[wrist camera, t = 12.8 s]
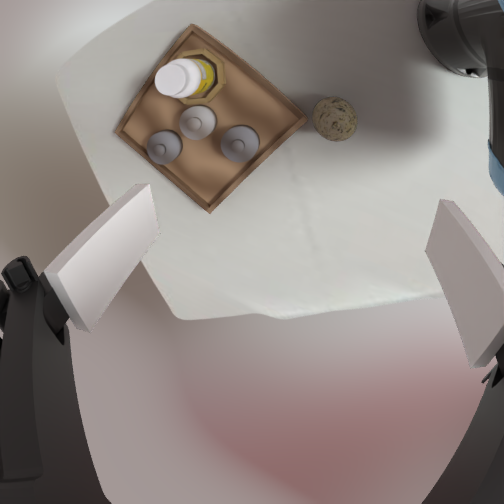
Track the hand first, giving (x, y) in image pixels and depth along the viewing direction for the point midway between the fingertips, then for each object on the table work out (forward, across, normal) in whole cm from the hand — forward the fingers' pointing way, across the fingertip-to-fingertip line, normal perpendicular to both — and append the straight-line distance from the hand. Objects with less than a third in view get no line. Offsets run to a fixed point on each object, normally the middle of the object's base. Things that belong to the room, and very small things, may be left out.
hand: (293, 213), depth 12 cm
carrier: (+32, -15, -1) cm, 35 cm away
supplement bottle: (+30, -15, +6) cm, 34 cm away
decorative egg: (+32, +4, 0) cm, 32 cm away
